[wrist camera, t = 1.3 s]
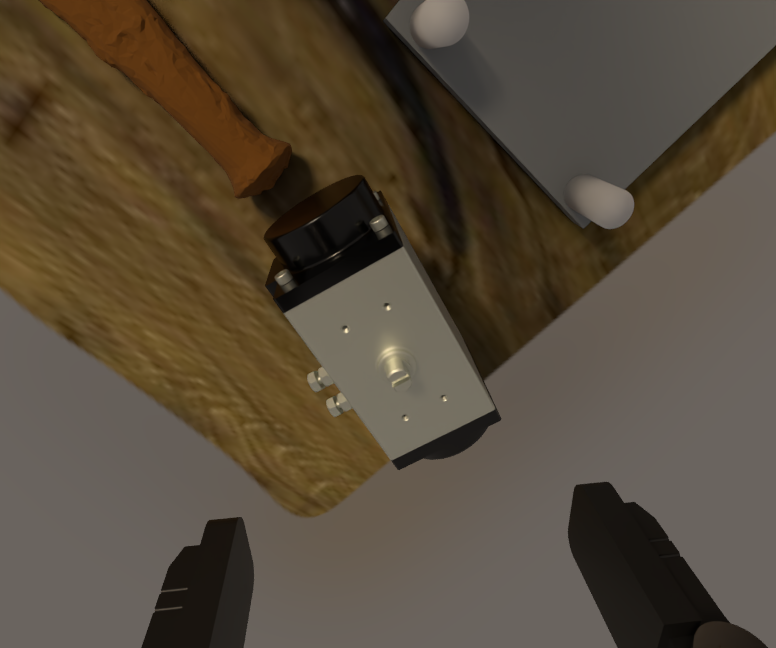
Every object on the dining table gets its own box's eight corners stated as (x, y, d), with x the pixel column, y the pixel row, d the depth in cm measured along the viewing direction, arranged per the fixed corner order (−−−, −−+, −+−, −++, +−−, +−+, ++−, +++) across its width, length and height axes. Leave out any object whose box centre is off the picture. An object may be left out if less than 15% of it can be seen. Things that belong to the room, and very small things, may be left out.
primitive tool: (-143, -154, 20) (-233, -197, 17) (-71, -290, 18) (-154, -364, 15) (255, 202, 27) (244, 219, 24) (327, 123, 26) (326, 130, 23)
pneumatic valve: (359, 144, 26) (375, 199, 15) (459, 325, 31) (524, 463, 20) (265, 200, 27) (217, 290, 16) (377, 367, 32) (399, 522, 21)
